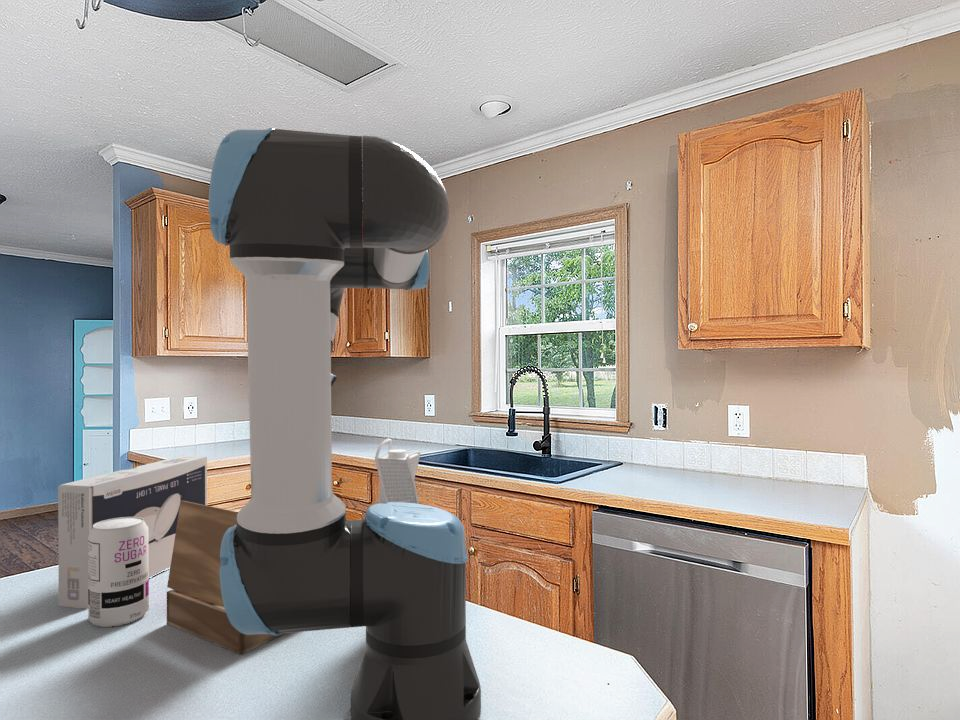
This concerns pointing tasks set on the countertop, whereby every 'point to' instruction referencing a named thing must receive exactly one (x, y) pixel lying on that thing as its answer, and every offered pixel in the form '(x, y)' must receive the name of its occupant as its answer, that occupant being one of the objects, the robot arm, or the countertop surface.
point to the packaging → (124, 514)
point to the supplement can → (118, 571)
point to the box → (209, 623)
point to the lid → (199, 550)
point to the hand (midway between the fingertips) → (285, 469)
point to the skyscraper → (397, 475)
